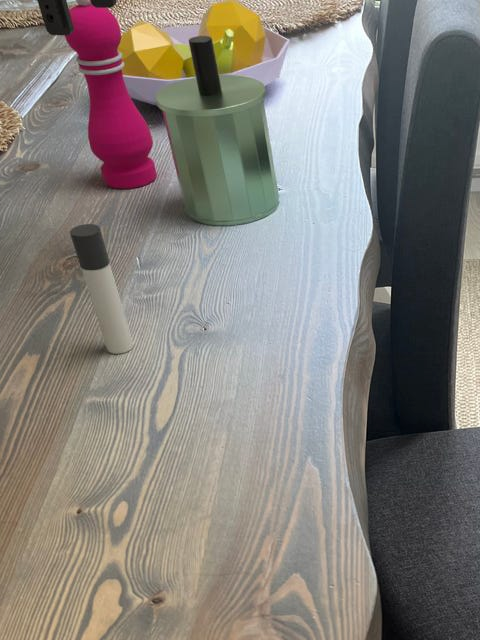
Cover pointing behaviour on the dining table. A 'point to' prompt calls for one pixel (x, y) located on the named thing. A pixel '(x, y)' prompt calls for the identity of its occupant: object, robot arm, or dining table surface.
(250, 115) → the canister
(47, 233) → the dining table surface
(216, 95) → the canister lid
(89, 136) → the pepper mill
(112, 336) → the marker
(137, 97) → the fruit bowl
